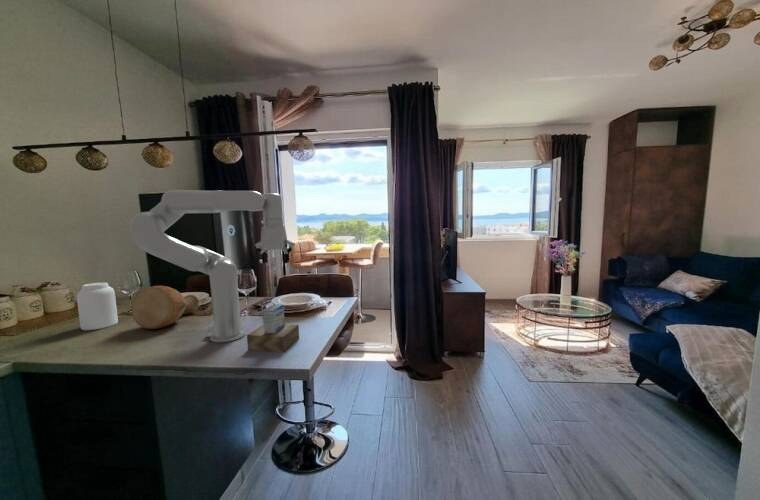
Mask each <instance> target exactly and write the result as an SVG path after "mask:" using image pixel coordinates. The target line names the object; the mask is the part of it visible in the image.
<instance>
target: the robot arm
mask: <svg viewBox="0 0 760 500" xmlns="http://www.w3.org/2000/svg"><path fill="white" fill-rule="evenodd" d="M232 211H234V212H235V211H249V212H259V211H260V212H261V211H263V212H262V213H263V220H261V221H260V223H261V225H263V226H261V231H260V232H261V234H260V241H257V243H255V244H254V245H255V247H256V250H257V251H258V252H259V254H260V255H261V262H262V264H268V262H269V261H268V258H269V257H268V253H267V252H268V251H280V250H282V252H283V262H284V264H288V263H289V262H290V253H291V251H293V250H294V246H295V242H293V241H292V240H288V237H287V232H286V227H285V226H284V220H283V204H282V196H281V194H279V193H272V192H271V193H270V192H269V193H264V194H262V193H260V192H258V191H257V190H256V191H255V190H204V189H203V190H202V189H201V190H197V189H196V190H195V189H194V190H193V189H192V190H191V189H190V190H189V189H186V190H185V189H171V190H168V191H166V192H164V193H163V194H162V196H161V199H160V202H158V204H156V205H155V206H154V207H152V208H151V209H150V210H149V211H142V212H139V213H137V214H135V215H133V217H132V219H131V220H130V225H129V231H130V235H131V238H132V240H133V241H134V243H135V244H136V245H137V246H138V247H139V248H140V249H141V250H142V251H144V252H146V253H148V254H150V255H152V256H154V257H156V258H159V259H161V260H164V261H166V262H169V263H171V264H173V265H175V266H178V267H180V268H183V269H184V270H186V271H187V270H188V271H190V272H200V273H203V274H205V275H207V276H209V284H210V295H211V296H210V298H211V305H212V306H211V307H212V317H213V325H208V326H207V329H206V333H211V335H210V342H213V343H228V342H232V341H235V340H238V339H241V338H243V337H244V336H246V330H245V329H244V328H242V323H241V309H240V297H239V281H238V280H239V279H238V278H239V277H238V275H239V274H238V268H237V265H236V264H235V262H234V261H233V260H232V259H231V258H229V257H226V256H224V255H222V254H220V253H218V252H215V251H213V250H210V249H208V248H206V247H203V246H201V245H192V244H189V243H187V242H184V241H181V240H179V239H178V238H175V237H173V236H171V235H168V234H167V233H165V232H166V231H167V230H168V229H169V228H170V227H171V226H173V225H174V224H175V223H176V222H177V221H179V219H181V218H182V217H183V216H184V215H185V214H216V213H217V214H218V213H223V212H232ZM288 245H289V246H288Z"/></svg>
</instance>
